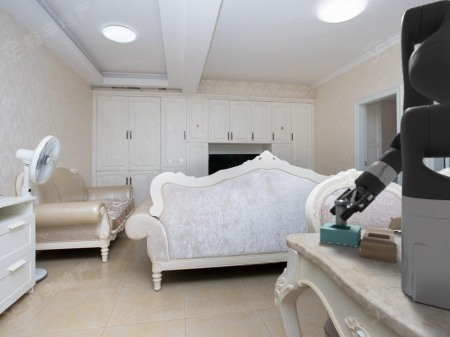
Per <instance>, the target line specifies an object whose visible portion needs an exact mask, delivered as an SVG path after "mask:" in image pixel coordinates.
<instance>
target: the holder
mask: <svg viewBox="0 0 450 337" xmlns="http://www.w3.org/2000/svg"><path fill="white" fill-rule="evenodd" d="M360 238H361V239H362V226H361V225H357V224H356V225H355V224H348V223H347V230H345V229H337V228H336V222H331V221H327V222H325V223H324V224H323V225H322V226H321V227H320V228H319V241H320V242H321V241H325V242H324V243H327V242H331V243H330V244H334V243H339V244H338V245H340V244H346V245H351V246H350V247H352V246H358V247H359V245H360V242H361V240H360ZM359 241H360V242H359ZM358 244H359V245H358ZM346 245H345V246H346Z"/></svg>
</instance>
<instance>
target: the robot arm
mask: <svg viewBox="0 0 450 337" xmlns="http://www.w3.org/2000/svg"><path fill="white" fill-rule="evenodd" d="M400 23H401V25H400V53H401V54H400V55H401V68H402V80H403V82H402V83H403V98H402V99H403V102H402V103H403V104H402V115H401V117H400V118H401V119H400V128H399V131H398V132H397V133H396V134H395V135H394V136H393V138H392V140H391V141H390V143H389V145H388V146H387V149H386V150H385V152H384V153H383V154H382V155H381V156H380V157H379V158H378V159H376V160H375V161H374V162H373V163H372V164H370V165H369V166H368V167H367V168H366V169H364V171H363V172H362V173H361V174H360V175H359V176H358V177H357V178H356V179H354V182H353V183H354V185H355V187H354V188H352V189H351V188H350V187H348V188H347V189H345V191H344V192H343V193H341V194H340V195H339V196H338V197H337V198H336V199H335V200H344V201H349V205H348V206H347V209H346V210H345V211H344V212H343V213H341V214H340V218H341V219H342V220H343V221H347V222H348V220H349V219H350V218H352V216H353V215H355V214H357V213H363V212H364V211H365V209H367V208H368V207H369V206H370V205H371V204H372V203H373V202H374V201H375V200H376V198H377V197H378V196H379V195H380V194H381V193H382V192H384V190H385V189H386V188H387V187H389V186H390V185H391V184H392V183H393V181H395V179H396V178H397V177H398V175H399V174H401V216H400V217H401V232H400V234H401V236H400V239H401V240H400V242H401V245H400V246H401V249H400V250H401V252H400V253H401V254H400V259H401V262H400V266H401V268H400V271H401V273H400V274H401V276H400V277H401V280H400V282H401V285H400V287H401V290H402V291H403V292H404V293H405V294H406V295H407V296H409V297H411V298H412V300H413V301H412V302H416V303H421V304H424V305H429V306H434V307H437V308H442V309H446V310H450V176H448V175H445V174H442V173H440V172H437V171H435V170H433V169H431V168H430V167H428V166H427V165H426V164H425V163H424V159H439V158H440V159H441V158H442V159H443V158H445V159H446V158H447V159H449V158H450V0H438V1H434V2H430V3H426V4H422V5H418V6H415V7H412V8H409V9H406V10H405V12H404V14H402V18H401V22H400ZM417 45H418V46H417ZM415 46H417V47H416V48H415ZM434 103H437V104H434ZM328 212H329V213H330V214H331V215H333V216H336V205H335V204H333V206H332V207H331V208H330V209H329V211H328Z"/></svg>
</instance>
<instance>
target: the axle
mask: <svg viewBox="0 0 450 337" xmlns="http://www.w3.org/2000/svg"><path fill="white" fill-rule="evenodd" d="M333 203H334V204H333V205H336V215H335V223H336V228H337V229H345V230H347V224H348V220H347V221H343V220H342V219H341V218H340V214H341V213H343V212H344V211H345V210H346V209H347V208H348V206H349V201H344V200H336V199H335V200H333Z"/></svg>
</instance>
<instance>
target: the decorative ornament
mask: <svg viewBox="0 0 450 337" xmlns="http://www.w3.org/2000/svg"><path fill="white" fill-rule="evenodd" d="M389 220H390V222H389V224H388V227H387V229H391V230H401V216H395V217H389Z"/></svg>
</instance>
